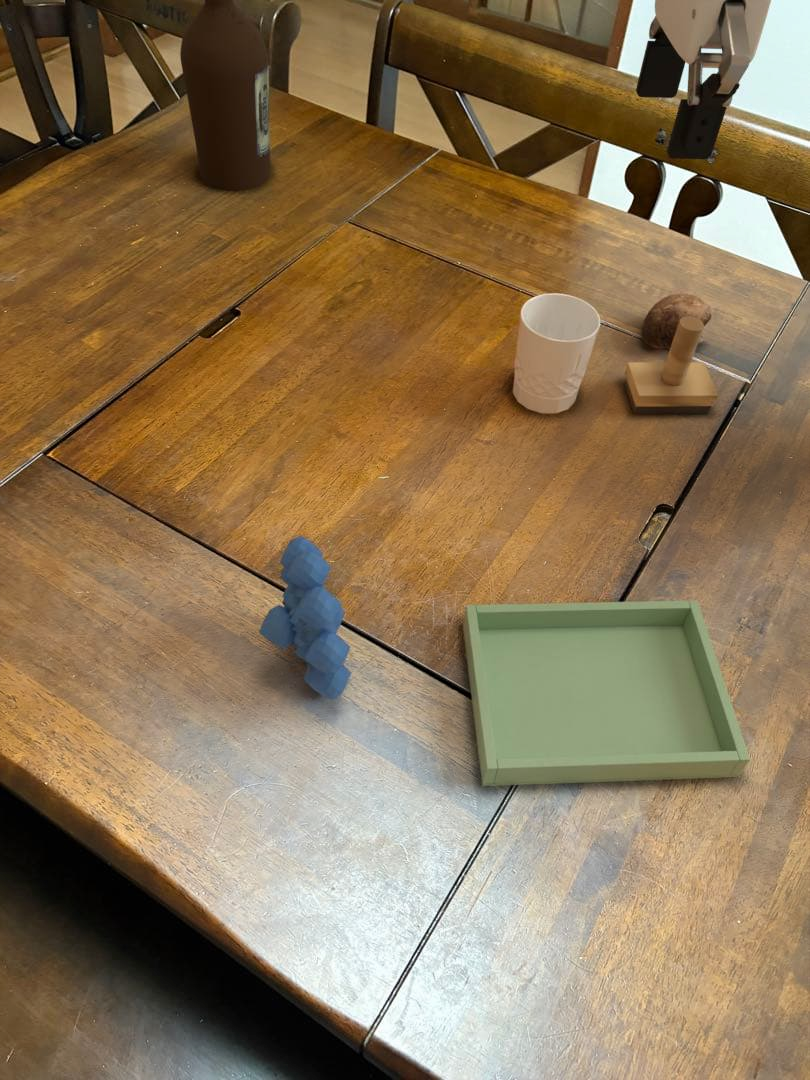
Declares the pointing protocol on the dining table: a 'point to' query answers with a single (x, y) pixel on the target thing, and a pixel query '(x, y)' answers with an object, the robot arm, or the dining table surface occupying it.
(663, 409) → the brush
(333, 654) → the grapes
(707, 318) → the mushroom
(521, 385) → the white cup
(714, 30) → the robot arm
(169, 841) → the dining table surface
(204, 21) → the olive oil
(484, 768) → the tray
